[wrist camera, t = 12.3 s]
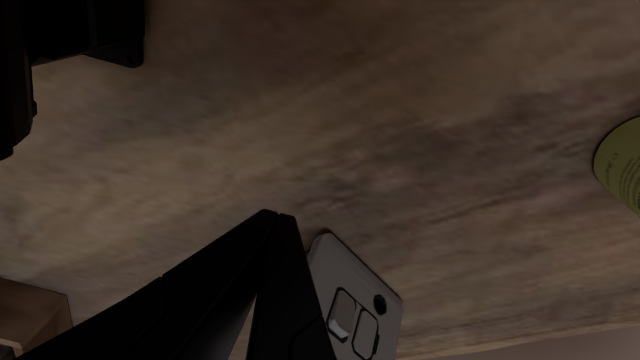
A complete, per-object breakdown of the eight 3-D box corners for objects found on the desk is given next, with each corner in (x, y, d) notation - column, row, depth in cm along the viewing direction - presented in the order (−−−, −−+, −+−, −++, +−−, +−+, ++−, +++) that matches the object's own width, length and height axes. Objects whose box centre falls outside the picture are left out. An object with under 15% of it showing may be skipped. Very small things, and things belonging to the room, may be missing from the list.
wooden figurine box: (9, 361, 40) (-35, 407, 35) (-25, 271, 32) (-85, 315, 28) (83, 380, 40) (48, 428, 35) (66, 295, 32) (20, 343, 28)
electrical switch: (404, 300, 28) (406, 432, 20) (355, 319, 30) (339, 443, 23) (326, 224, 25) (293, 343, 17) (279, 252, 27) (232, 367, 20)
